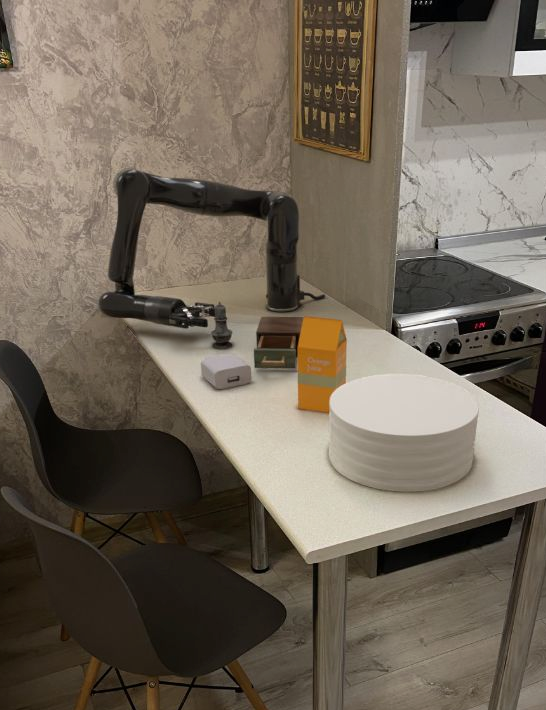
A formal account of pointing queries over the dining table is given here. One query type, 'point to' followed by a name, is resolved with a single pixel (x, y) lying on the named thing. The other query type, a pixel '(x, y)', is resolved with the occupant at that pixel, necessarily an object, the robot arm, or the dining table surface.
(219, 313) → the salt shaker
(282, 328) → the cabinet
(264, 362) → the drawer
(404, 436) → the plate stack
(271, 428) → the dining table surface
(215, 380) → the charger
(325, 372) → the orange juice
